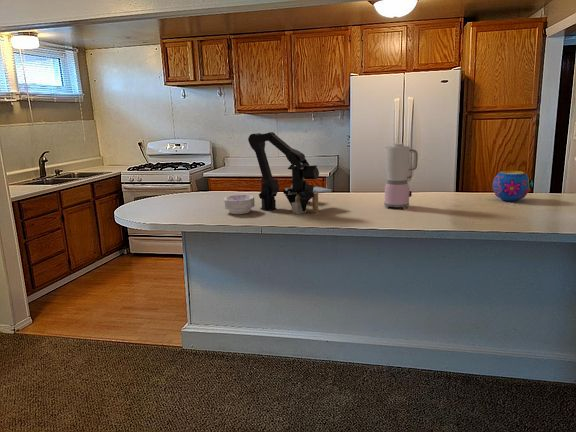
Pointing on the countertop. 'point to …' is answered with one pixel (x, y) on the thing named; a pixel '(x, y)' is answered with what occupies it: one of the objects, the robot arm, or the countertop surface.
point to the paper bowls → (239, 203)
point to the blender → (398, 175)
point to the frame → (314, 203)
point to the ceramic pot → (511, 185)
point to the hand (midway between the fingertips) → (298, 209)
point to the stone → (297, 207)
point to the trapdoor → (320, 190)
